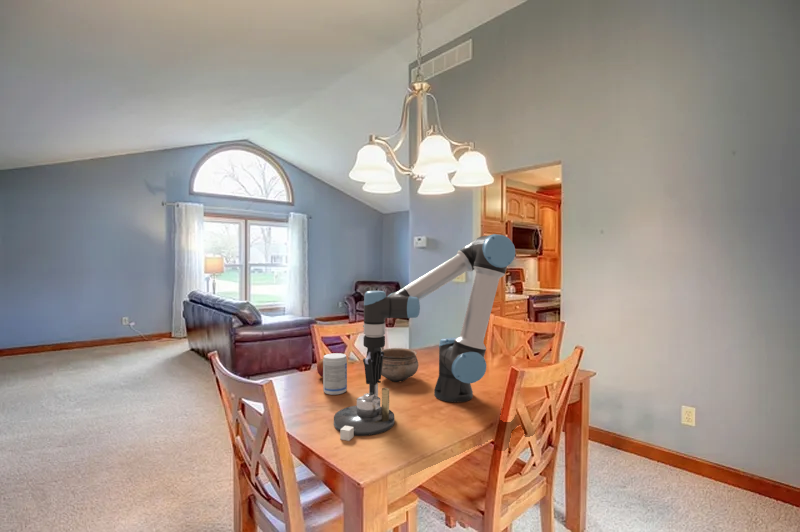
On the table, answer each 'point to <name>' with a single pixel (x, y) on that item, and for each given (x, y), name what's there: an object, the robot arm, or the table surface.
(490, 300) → the robot arm
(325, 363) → the supplement tub
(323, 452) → the table surface
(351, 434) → the white cube
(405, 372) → the cooking pot
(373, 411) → the cover
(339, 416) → the turntable
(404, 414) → the table surface
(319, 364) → the fruit
